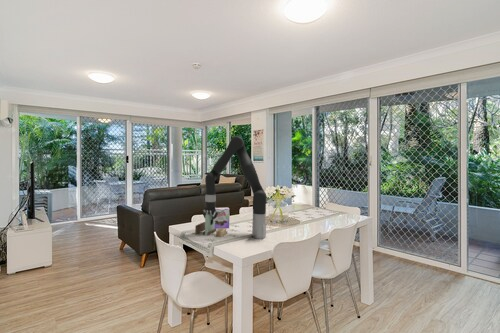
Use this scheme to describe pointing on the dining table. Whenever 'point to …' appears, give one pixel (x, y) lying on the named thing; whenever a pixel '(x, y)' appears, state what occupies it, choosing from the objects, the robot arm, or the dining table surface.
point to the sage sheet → (209, 224)
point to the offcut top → (221, 231)
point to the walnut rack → (202, 229)
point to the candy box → (222, 218)
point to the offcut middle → (221, 235)
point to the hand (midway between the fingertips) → (209, 224)
